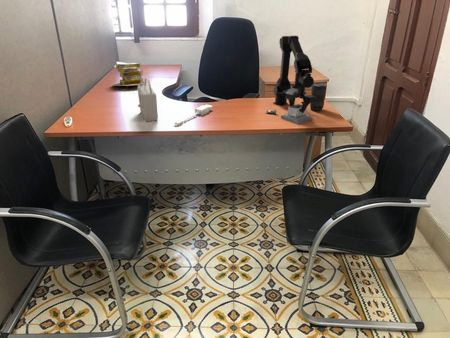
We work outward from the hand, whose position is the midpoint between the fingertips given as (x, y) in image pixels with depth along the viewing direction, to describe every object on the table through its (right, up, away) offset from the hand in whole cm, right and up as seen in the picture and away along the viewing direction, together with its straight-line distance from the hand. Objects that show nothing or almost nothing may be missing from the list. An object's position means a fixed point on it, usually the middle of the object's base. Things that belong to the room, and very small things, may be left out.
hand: (297, 111), depth 189 cm
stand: (0, -4, +2) cm, 4 cm away
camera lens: (+14, +3, +16) cm, 22 cm away
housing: (0, -2, +1) cm, 2 cm away
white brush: (-56, -3, +4) cm, 57 cm away
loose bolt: (-13, 0, +9) cm, 16 cm away
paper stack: (-107, +28, +61) cm, 127 cm away
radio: (-82, -2, +5) cm, 82 cm away
